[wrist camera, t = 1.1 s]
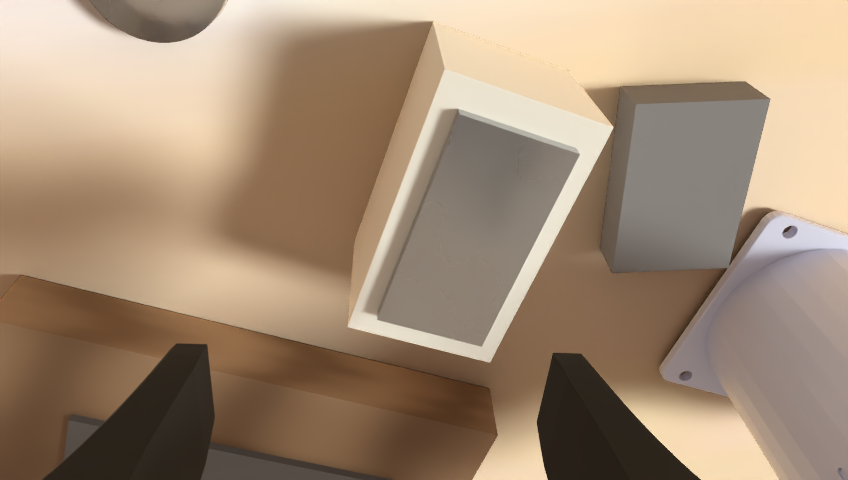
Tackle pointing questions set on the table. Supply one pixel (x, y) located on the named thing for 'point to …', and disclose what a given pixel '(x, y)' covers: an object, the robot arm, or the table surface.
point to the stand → (226, 395)
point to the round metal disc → (160, 17)
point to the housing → (470, 194)
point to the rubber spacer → (680, 174)
